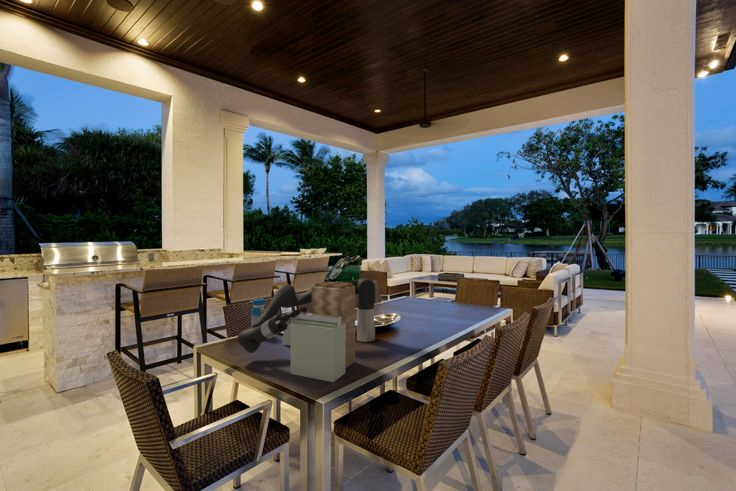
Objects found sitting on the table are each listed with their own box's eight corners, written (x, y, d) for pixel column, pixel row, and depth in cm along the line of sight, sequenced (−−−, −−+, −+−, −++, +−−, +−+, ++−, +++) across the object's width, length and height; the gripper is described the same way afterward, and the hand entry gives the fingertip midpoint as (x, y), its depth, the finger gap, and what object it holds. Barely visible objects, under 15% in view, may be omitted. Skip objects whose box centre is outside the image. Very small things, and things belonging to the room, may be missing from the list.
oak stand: (311, 365, 154) (311, 283, 153) (326, 357, 165) (326, 280, 164) (341, 370, 148) (342, 285, 147) (354, 361, 159) (355, 282, 158)
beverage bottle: (250, 336, 198) (250, 300, 197) (251, 332, 206) (251, 298, 206) (266, 335, 200) (266, 300, 200) (266, 331, 208) (266, 297, 208)
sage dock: (290, 373, 144) (290, 320, 144) (304, 365, 154) (304, 315, 153) (333, 382, 136) (333, 326, 136) (345, 373, 145) (345, 320, 145)
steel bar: (287, 320, 149) (287, 312, 149) (292, 319, 152) (292, 311, 152) (337, 327, 139) (337, 318, 139) (341, 325, 142) (341, 316, 142)
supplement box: (296, 346, 181) (296, 321, 181) (282, 345, 182) (282, 320, 182) (301, 342, 188) (301, 318, 188) (288, 341, 190) (288, 317, 189)
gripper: (259, 322, 148) (288, 304, 142) (281, 315, 161) (308, 299, 155) (266, 338, 147) (296, 321, 140) (287, 330, 160) (315, 314, 153)
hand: (302, 310), depth 147 cm, fingers open, 4 cm apart
